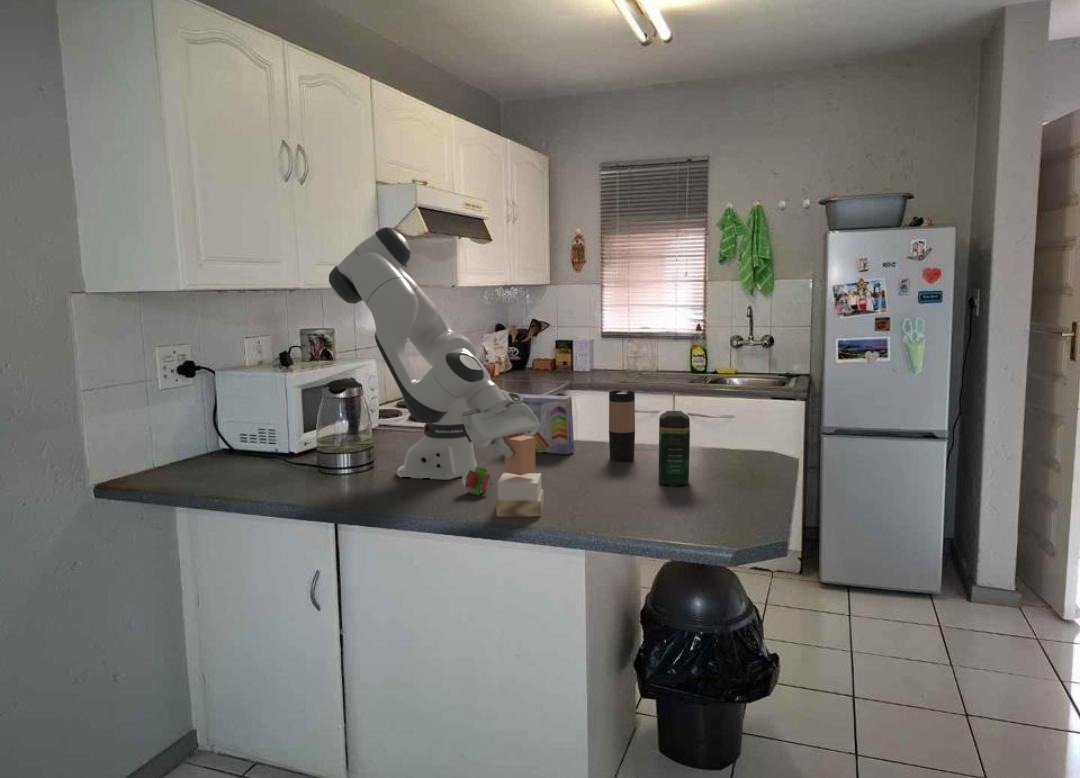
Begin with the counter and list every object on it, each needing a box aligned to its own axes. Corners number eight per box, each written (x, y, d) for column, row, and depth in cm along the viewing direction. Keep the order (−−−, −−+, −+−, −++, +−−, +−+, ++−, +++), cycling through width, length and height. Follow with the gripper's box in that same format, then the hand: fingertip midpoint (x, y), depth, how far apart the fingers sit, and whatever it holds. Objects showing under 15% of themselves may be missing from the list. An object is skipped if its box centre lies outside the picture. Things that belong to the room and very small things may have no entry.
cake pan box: (513, 450, 239) (511, 394, 236) (521, 447, 243) (520, 392, 240) (567, 456, 229) (567, 398, 227) (575, 452, 234) (574, 396, 231)
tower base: (496, 518, 172) (496, 501, 171) (502, 505, 181) (501, 489, 181) (540, 518, 171) (540, 501, 170) (543, 505, 181) (543, 489, 180)
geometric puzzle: (485, 478, 196) (469, 457, 192) (502, 483, 191) (486, 461, 187) (468, 499, 193) (452, 478, 189) (485, 504, 188) (468, 483, 184)
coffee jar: (690, 487, 193) (691, 415, 190) (658, 486, 194) (658, 414, 191) (688, 477, 202) (689, 408, 199) (658, 477, 203) (658, 408, 201)
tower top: (497, 500, 172) (497, 483, 171) (503, 489, 180) (503, 473, 180) (537, 500, 171) (537, 483, 170) (541, 489, 180) (541, 473, 179)
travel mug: (618, 463, 219) (618, 394, 216) (604, 458, 226) (603, 391, 223) (640, 460, 223) (640, 392, 220) (625, 455, 229) (625, 389, 226)
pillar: (504, 472, 174) (504, 438, 173) (519, 468, 178) (518, 434, 177) (521, 475, 171) (520, 440, 170) (535, 471, 175) (534, 437, 174)
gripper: (464, 404, 169) (497, 453, 164) (525, 393, 185) (556, 437, 180) (451, 422, 173) (483, 470, 168) (512, 409, 188) (542, 453, 183)
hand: (521, 453), depth 174 cm, fingers closed on pillar, 5 cm apart
